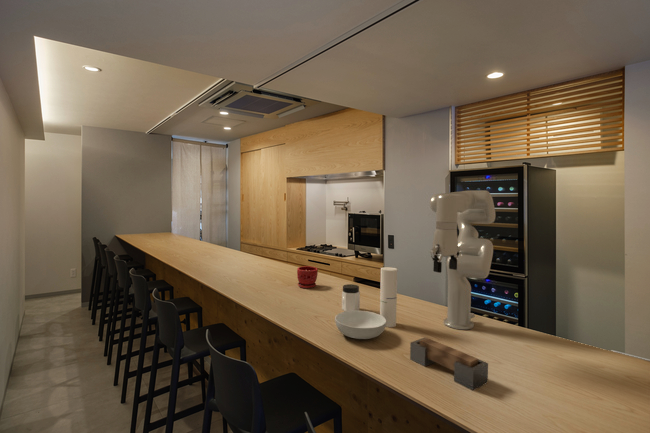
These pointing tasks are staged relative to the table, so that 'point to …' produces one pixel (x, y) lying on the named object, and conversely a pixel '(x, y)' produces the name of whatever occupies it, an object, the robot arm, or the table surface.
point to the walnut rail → (446, 354)
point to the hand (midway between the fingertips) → (445, 270)
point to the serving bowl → (360, 324)
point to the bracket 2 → (471, 374)
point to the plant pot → (307, 276)
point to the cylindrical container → (388, 295)
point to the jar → (350, 298)
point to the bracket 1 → (419, 353)
